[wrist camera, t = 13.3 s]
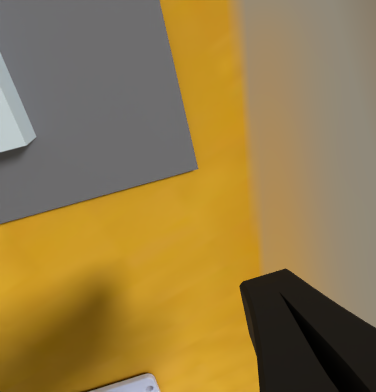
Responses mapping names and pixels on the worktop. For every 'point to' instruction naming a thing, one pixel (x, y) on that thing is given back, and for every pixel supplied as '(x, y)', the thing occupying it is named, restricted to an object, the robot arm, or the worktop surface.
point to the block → (12, 114)
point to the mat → (90, 102)
